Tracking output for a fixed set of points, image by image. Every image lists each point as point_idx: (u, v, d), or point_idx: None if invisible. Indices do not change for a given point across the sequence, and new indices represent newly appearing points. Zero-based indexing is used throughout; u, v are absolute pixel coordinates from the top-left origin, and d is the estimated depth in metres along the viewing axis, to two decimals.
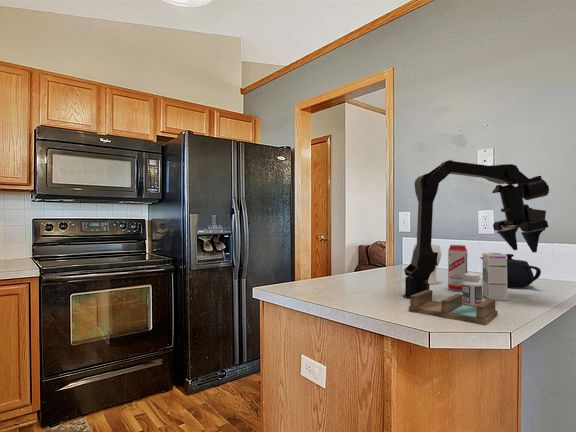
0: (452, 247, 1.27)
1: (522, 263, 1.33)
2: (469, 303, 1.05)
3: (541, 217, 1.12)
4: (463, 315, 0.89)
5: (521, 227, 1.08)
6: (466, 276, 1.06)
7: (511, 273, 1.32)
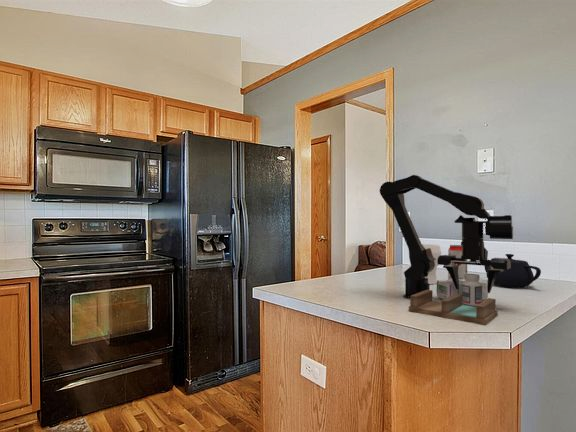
0: (452, 247, 1.27)
1: (522, 263, 1.33)
2: (469, 303, 1.05)
3: (486, 257, 1.10)
4: (463, 315, 0.89)
5: (493, 264, 1.00)
6: (466, 276, 1.06)
7: (511, 273, 1.32)
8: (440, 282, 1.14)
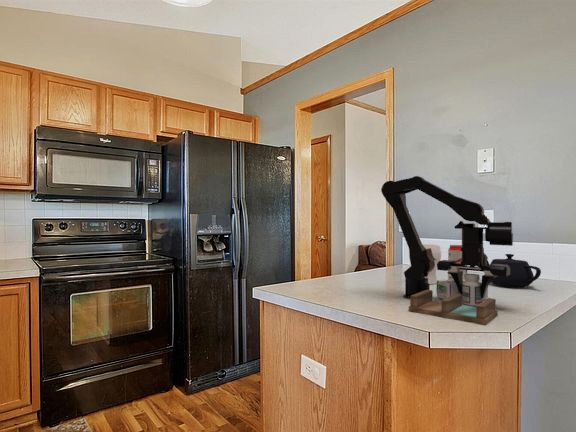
0: (452, 247, 1.27)
1: (522, 263, 1.33)
2: (469, 303, 1.05)
3: (486, 263, 1.10)
4: (463, 315, 0.89)
5: (492, 270, 1.00)
6: (466, 276, 1.06)
7: (511, 273, 1.32)
8: (440, 282, 1.14)
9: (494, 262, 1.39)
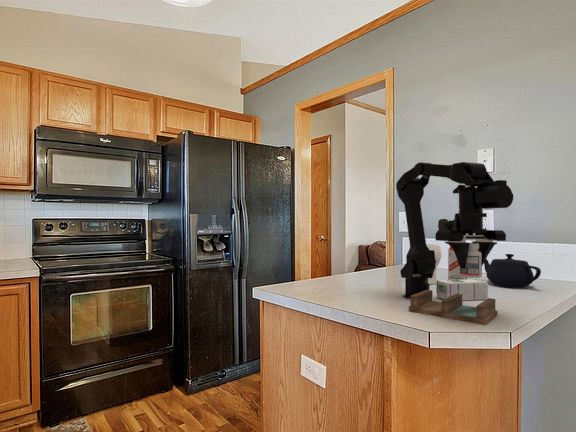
0: None
1: (522, 263, 1.33)
2: (478, 275, 0.93)
3: None
4: (463, 315, 0.89)
5: (498, 236, 0.95)
6: (472, 245, 0.94)
7: (511, 273, 1.32)
8: (440, 282, 1.14)
9: (494, 262, 1.39)
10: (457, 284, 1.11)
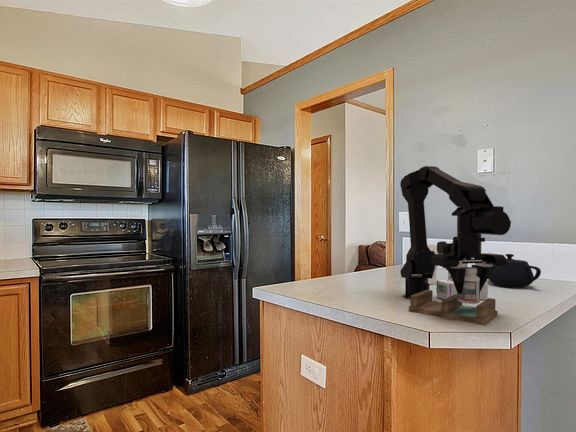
0: None
1: (522, 263, 1.33)
2: (475, 300, 0.91)
3: None
4: (463, 315, 0.89)
5: (497, 261, 0.92)
6: (469, 270, 0.92)
7: (511, 273, 1.32)
8: (440, 282, 1.14)
9: None
10: None
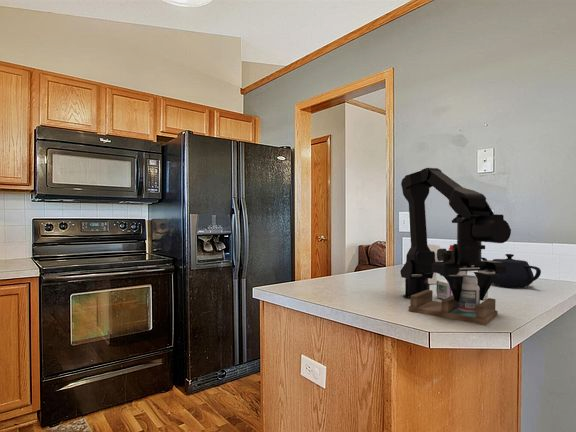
0: (452, 247, 1.27)
1: (522, 263, 1.33)
2: (475, 309, 0.91)
3: None
4: (463, 315, 0.89)
5: (497, 268, 0.92)
6: (469, 279, 0.92)
7: (511, 273, 1.32)
8: (440, 282, 1.14)
9: None
10: None
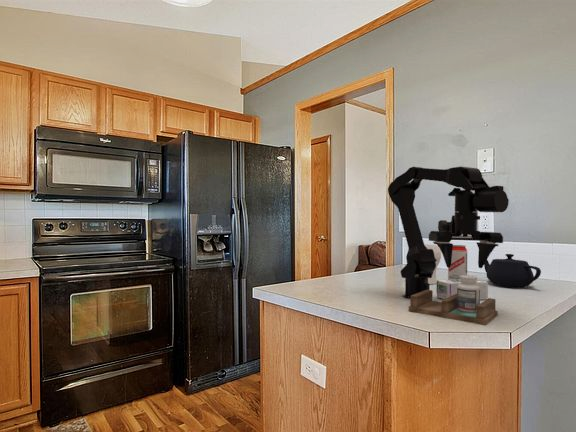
0: None
1: (522, 263, 1.33)
2: (475, 309, 0.91)
3: None
4: (463, 315, 0.89)
5: (493, 238, 0.98)
6: (469, 279, 0.92)
7: (511, 273, 1.32)
8: (440, 282, 1.14)
9: (494, 262, 1.39)
10: (457, 284, 1.11)
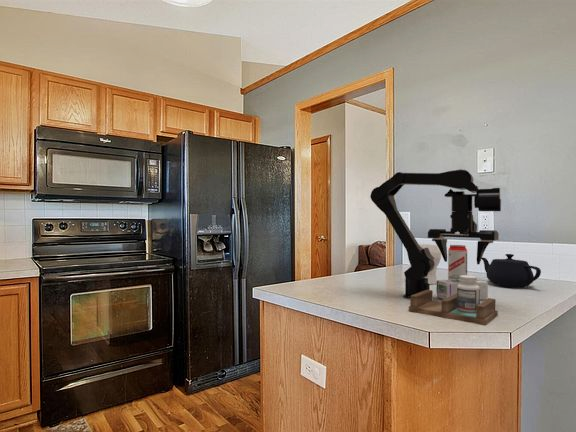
0: (452, 247, 1.27)
1: (522, 263, 1.33)
2: (475, 309, 0.91)
3: (475, 231, 1.12)
4: (463, 315, 0.89)
5: (481, 235, 1.02)
6: (469, 279, 0.92)
7: (511, 273, 1.32)
8: (440, 282, 1.14)
9: (494, 262, 1.39)
10: (457, 284, 1.11)
